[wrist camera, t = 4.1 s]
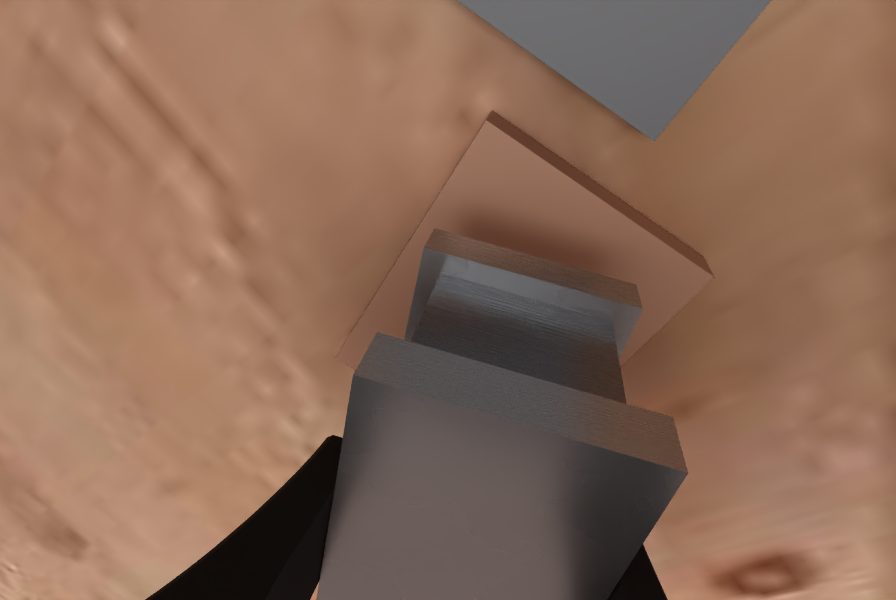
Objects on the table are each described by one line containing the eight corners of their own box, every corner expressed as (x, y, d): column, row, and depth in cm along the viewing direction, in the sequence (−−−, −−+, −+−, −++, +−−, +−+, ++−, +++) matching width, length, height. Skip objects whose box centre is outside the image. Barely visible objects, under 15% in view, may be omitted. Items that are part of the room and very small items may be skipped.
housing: (636, 284, 13) (687, 472, 8) (546, 481, 16) (541, 702, 11) (434, 228, 13) (353, 374, 8) (388, 434, 17) (311, 629, 11)
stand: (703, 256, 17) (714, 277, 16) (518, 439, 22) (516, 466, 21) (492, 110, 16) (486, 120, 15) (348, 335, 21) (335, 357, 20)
